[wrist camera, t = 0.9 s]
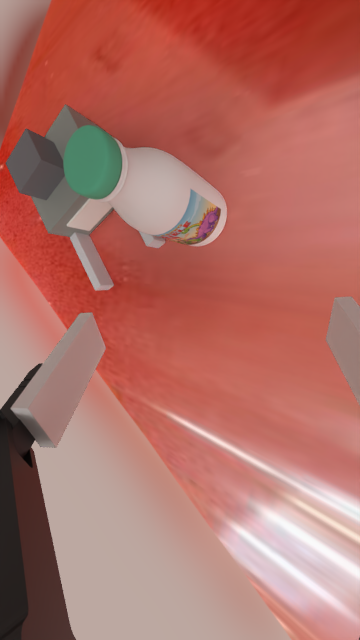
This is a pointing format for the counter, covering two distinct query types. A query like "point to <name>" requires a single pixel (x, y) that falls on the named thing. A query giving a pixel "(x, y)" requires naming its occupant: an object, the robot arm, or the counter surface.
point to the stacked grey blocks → (63, 192)
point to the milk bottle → (144, 187)
